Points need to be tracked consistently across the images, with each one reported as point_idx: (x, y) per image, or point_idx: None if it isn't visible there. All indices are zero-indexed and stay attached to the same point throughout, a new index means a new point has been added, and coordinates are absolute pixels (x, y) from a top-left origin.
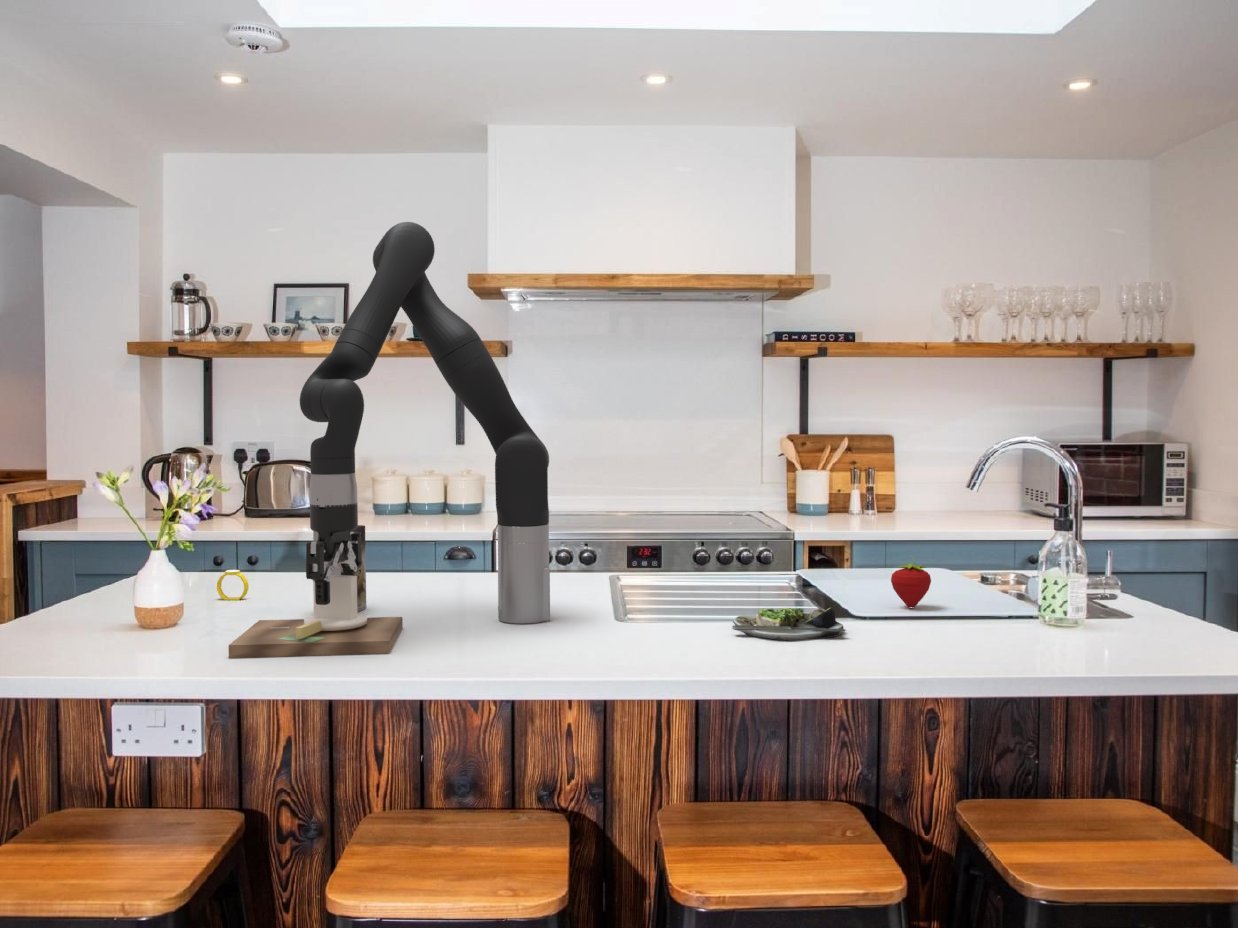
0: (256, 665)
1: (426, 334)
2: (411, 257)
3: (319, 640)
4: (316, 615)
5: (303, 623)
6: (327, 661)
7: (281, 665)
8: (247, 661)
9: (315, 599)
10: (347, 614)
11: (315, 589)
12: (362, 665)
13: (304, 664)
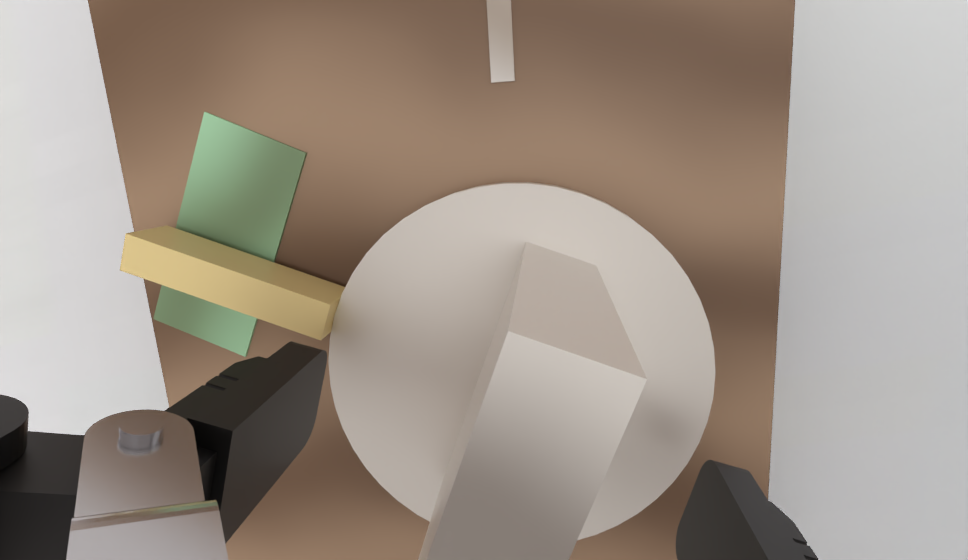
0: (11, 90)
1: None
2: None
3: (201, 340)
4: (519, 262)
5: (639, 136)
6: (109, 382)
7: (27, 206)
8: (70, 16)
9: (282, 348)
10: (445, 474)
11: (185, 397)
12: None
13: (54, 300)
